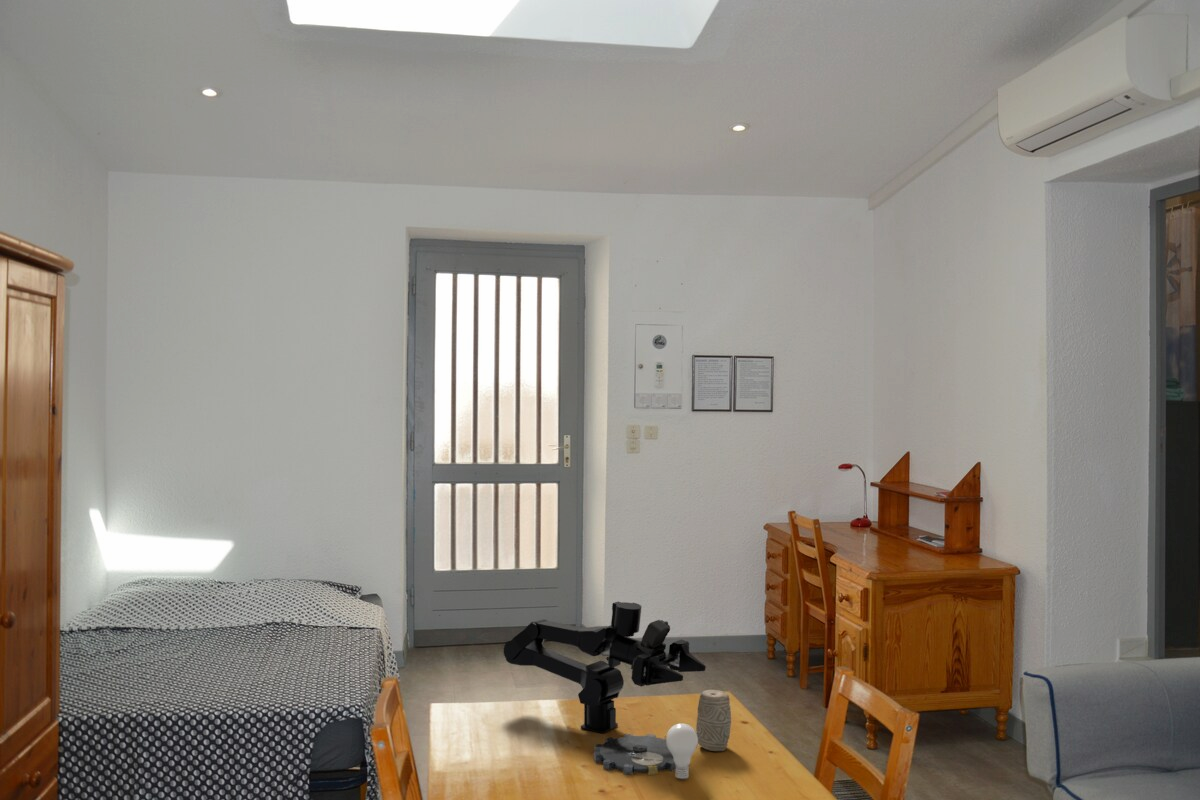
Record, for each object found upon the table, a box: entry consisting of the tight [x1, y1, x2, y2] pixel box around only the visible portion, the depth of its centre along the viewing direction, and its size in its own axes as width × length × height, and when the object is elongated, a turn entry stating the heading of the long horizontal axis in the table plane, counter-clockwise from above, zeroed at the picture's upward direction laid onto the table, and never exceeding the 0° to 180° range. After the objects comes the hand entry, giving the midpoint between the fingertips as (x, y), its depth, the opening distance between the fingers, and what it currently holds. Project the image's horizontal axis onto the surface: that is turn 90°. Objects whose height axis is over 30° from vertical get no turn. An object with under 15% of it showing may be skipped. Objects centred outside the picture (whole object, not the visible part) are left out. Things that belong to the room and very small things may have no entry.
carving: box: [695, 689, 732, 752], centre depth 211 cm, size 6×8×12 cm
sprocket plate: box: [593, 733, 676, 776], centre depth 206 cm, size 19×19×2 cm
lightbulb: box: [665, 722, 699, 781], centre depth 194 cm, size 6×6×11 cm
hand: (694, 673), depth 209 cm, fingers open, 9 cm apart
